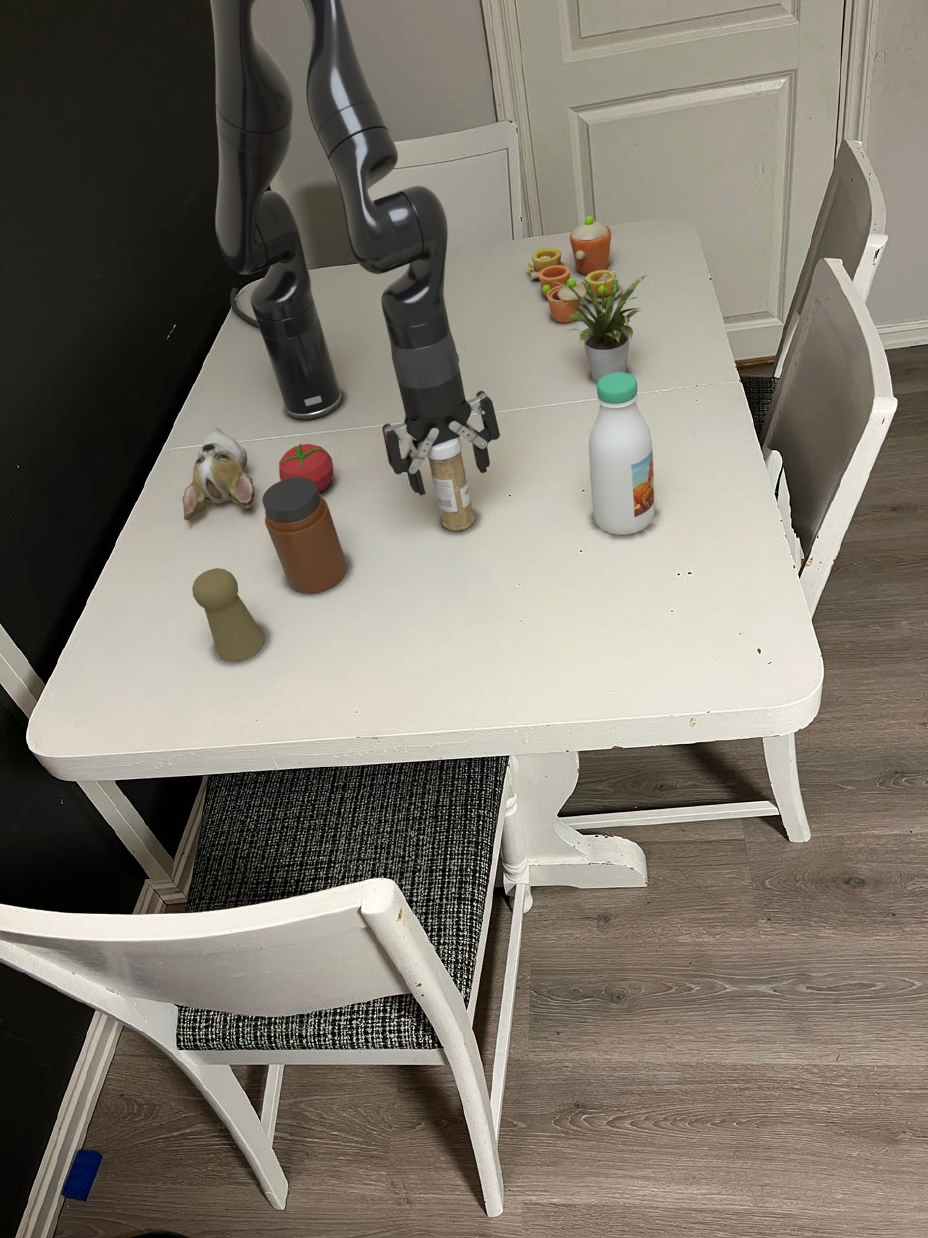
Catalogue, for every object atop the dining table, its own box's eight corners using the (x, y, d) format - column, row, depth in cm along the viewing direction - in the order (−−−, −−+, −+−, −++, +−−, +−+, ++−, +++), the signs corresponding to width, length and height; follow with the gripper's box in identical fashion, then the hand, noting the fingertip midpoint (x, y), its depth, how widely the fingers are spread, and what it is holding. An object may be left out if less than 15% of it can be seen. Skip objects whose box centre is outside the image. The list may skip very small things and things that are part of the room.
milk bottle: (616, 545, 119) (607, 407, 105) (582, 514, 124) (570, 380, 110) (666, 520, 120) (664, 381, 107) (631, 491, 126) (625, 356, 112)
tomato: (340, 498, 135) (326, 453, 130) (287, 510, 135) (271, 466, 130) (336, 467, 141) (323, 423, 136) (285, 479, 141) (270, 436, 136)
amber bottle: (282, 566, 126) (251, 487, 118) (338, 545, 128) (312, 466, 119) (295, 601, 121) (264, 522, 112) (354, 580, 122) (328, 499, 113)
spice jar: (481, 521, 126) (466, 436, 117) (453, 537, 125) (435, 452, 116) (463, 506, 129) (446, 422, 120) (435, 521, 128) (416, 437, 119)
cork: (219, 631, 119) (188, 565, 111) (266, 622, 119) (237, 556, 111) (214, 665, 115) (181, 600, 107) (263, 657, 114) (233, 590, 107)
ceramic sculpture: (246, 411, 140) (238, 474, 129) (265, 457, 146) (259, 521, 136) (176, 424, 140) (163, 488, 130) (198, 470, 147) (187, 534, 136)
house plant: (542, 397, 146) (530, 297, 135) (569, 351, 155) (560, 254, 143) (633, 403, 141) (629, 300, 129) (656, 355, 149) (653, 255, 138)
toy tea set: (525, 267, 180) (519, 216, 173) (606, 252, 179) (603, 200, 172) (545, 331, 161) (539, 277, 154) (636, 314, 160) (634, 258, 153)
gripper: (471, 337, 115) (491, 449, 126) (361, 374, 113) (391, 484, 124) (494, 362, 110) (513, 477, 121) (379, 402, 108) (409, 514, 119)
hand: (451, 480), depth 122 cm, fingers open, 8 cm apart
